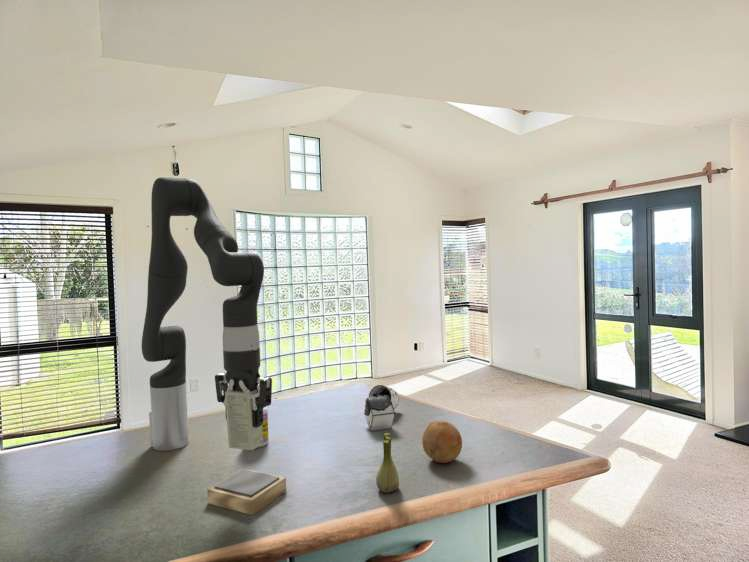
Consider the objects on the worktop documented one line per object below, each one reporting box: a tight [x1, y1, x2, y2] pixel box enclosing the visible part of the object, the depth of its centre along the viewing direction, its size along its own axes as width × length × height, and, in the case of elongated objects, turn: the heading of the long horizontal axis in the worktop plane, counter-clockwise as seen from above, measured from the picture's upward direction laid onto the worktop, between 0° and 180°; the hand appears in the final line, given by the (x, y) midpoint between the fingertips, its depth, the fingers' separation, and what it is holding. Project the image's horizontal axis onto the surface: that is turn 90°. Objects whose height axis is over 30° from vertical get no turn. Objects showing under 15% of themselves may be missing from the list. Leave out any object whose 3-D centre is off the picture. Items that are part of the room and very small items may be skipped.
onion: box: [421, 420, 463, 464], centre depth 121 cm, size 10×10×10 cm
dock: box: [206, 468, 287, 516], centre depth 105 cm, size 12×11×3 cm
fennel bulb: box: [375, 432, 400, 494], centre depth 106 cm, size 6×5×12 cm
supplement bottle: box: [257, 406, 269, 448], centre depth 136 cm, size 7×7×13 cm
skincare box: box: [225, 388, 263, 451], centre depth 104 cm, size 6×4×12 cm
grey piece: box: [363, 384, 400, 432], centre depth 153 cm, size 25×10×10 cm, turn 174°
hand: (244, 424), depth 104 cm, fingers closed on skincare box, 6 cm apart
